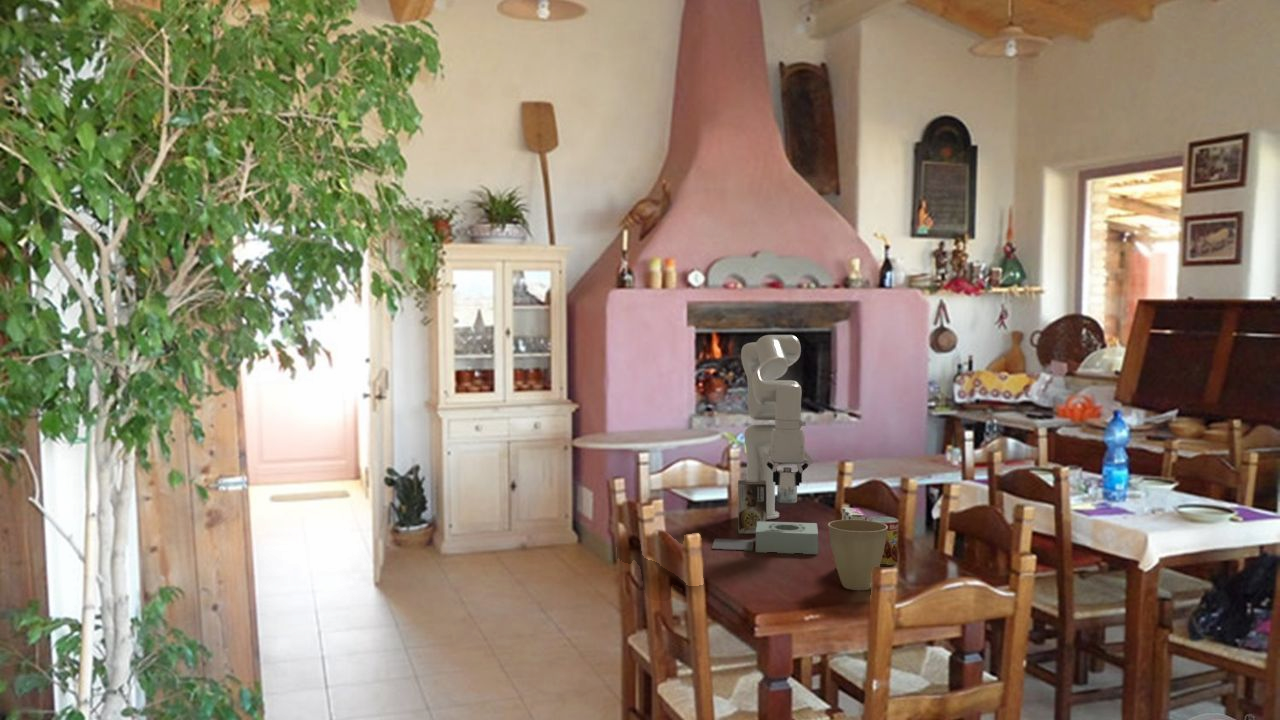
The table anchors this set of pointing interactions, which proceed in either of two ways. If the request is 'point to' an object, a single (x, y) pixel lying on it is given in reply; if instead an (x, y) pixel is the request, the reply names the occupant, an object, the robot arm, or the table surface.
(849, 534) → the plant pot
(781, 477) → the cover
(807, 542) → the block
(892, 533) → the canned food
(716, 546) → the mat
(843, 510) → the candy bar box
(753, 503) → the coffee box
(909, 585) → the table surface
